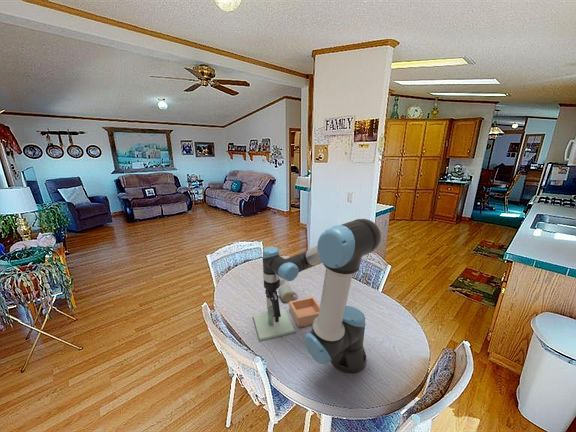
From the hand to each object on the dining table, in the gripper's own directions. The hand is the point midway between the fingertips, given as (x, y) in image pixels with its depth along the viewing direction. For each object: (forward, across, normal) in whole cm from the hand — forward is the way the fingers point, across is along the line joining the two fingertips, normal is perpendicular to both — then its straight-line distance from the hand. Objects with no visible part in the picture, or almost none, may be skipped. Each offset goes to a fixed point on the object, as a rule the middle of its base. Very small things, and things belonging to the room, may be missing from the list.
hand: (272, 317), depth 127 cm
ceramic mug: (+5, +19, -14) cm, 24 cm away
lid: (+4, 0, 0) cm, 4 cm away
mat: (+5, 0, 0) cm, 5 cm away
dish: (+5, +1, -18) cm, 19 cm away
